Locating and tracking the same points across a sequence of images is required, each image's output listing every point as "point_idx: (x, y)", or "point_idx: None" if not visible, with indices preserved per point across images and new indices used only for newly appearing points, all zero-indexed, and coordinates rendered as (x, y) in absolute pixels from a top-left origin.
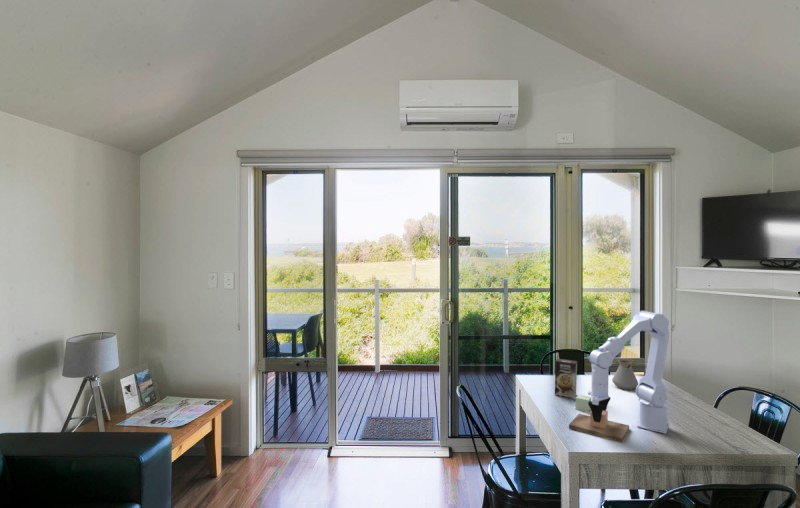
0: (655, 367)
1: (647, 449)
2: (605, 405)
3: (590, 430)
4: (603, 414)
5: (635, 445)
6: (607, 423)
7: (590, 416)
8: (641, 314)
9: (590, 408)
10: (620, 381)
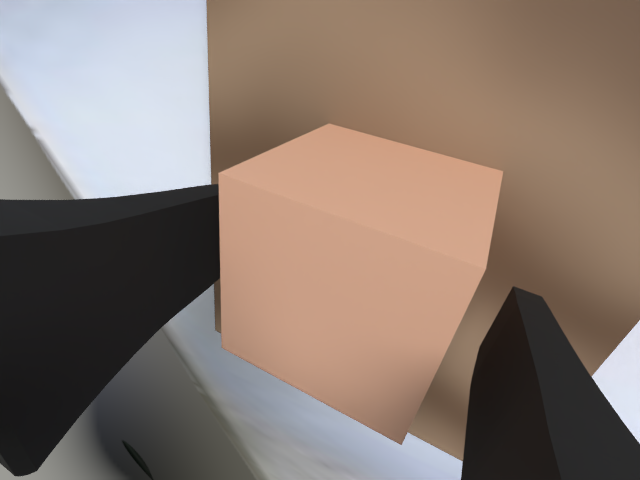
0: None
1: (229, 394)
2: (27, 472)
3: (213, 124)
4: (237, 342)
5: (240, 363)
6: (477, 322)
7: (264, 155)
8: None
9: (8, 200)
10: None
